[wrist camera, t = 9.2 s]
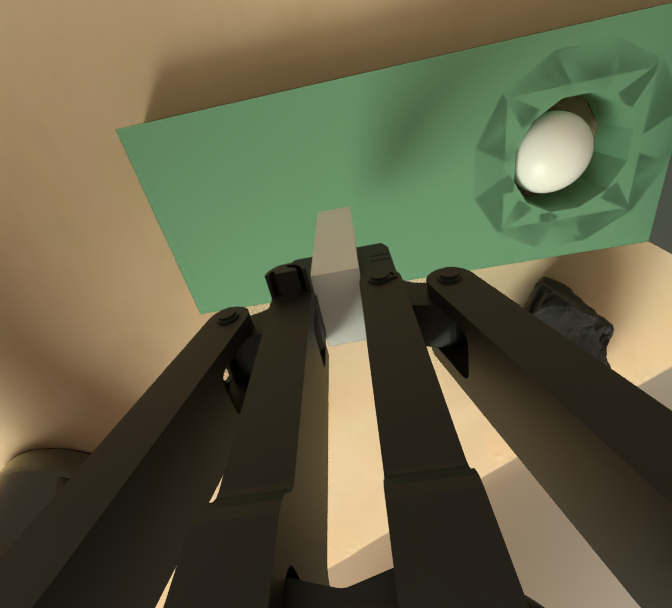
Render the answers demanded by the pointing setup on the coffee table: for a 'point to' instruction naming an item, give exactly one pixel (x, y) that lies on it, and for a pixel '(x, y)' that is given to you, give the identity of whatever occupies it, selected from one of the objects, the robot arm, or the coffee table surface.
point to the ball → (553, 152)
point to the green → (419, 161)
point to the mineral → (570, 317)
